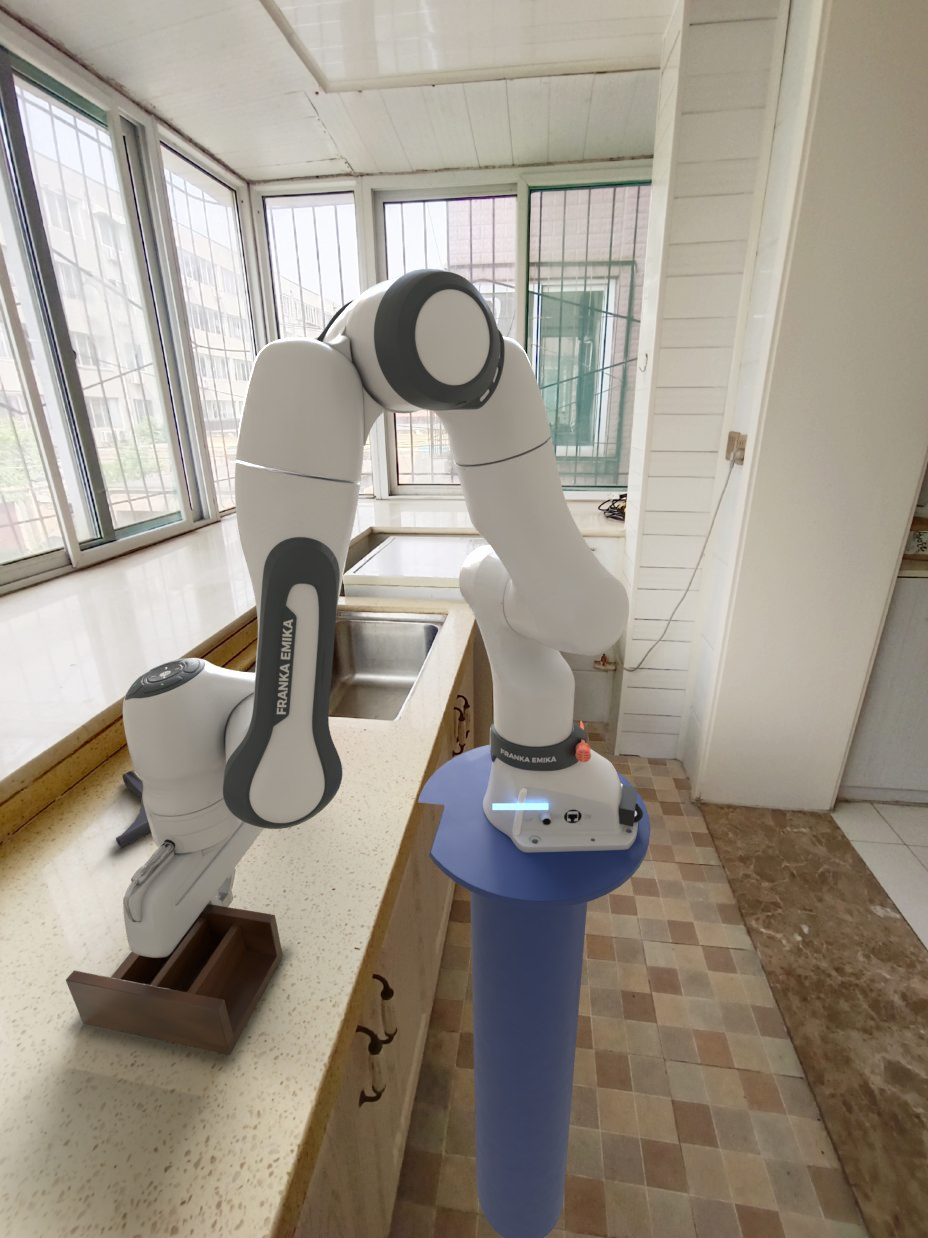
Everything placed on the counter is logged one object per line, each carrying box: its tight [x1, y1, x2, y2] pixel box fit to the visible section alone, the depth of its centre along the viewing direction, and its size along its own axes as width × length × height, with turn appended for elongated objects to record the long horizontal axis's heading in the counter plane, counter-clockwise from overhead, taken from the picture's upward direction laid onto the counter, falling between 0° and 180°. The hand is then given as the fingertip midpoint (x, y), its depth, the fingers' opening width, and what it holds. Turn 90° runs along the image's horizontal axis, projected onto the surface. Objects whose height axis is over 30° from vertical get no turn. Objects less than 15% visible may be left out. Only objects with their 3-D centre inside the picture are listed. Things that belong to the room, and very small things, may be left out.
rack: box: [65, 904, 284, 1056], centre depth 55 cm, size 16×10×6 cm, turn 79°
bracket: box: [115, 769, 151, 849], centre depth 83 cm, size 14×15×3 cm
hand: (220, 909), depth 61 cm, fingers closed
